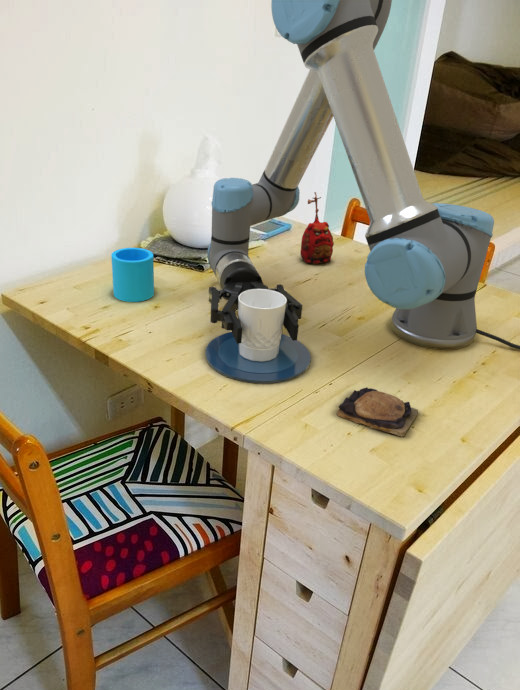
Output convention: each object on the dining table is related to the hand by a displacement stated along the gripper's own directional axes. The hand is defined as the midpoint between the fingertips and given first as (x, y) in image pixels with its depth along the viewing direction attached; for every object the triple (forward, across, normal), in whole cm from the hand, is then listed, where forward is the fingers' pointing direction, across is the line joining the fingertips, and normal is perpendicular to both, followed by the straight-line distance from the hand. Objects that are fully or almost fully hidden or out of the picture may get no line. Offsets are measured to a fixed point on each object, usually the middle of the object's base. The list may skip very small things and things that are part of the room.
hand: (267, 334), depth 104 cm
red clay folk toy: (-48, -24, -7) cm, 54 cm away
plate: (-5, 0, -6) cm, 8 cm away
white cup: (-5, 0, -6) cm, 8 cm away
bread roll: (+15, -14, -7) cm, 21 cm away
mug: (-35, +20, -7) cm, 41 cm away
